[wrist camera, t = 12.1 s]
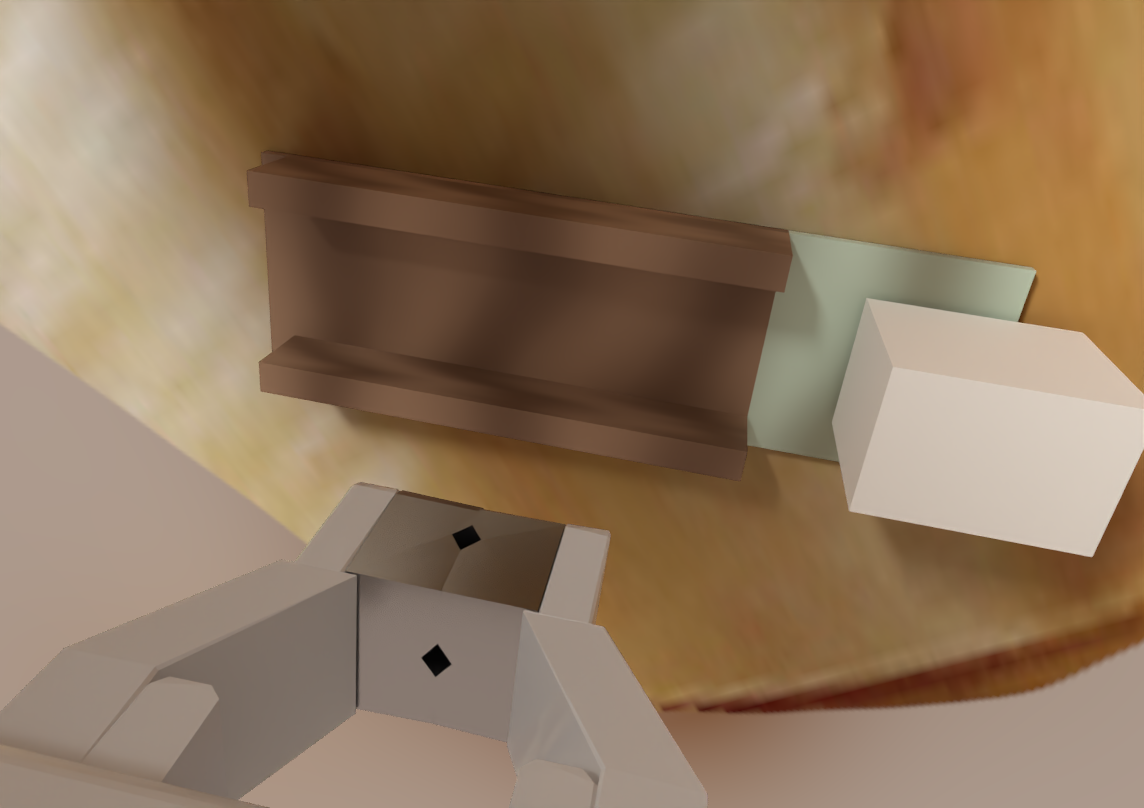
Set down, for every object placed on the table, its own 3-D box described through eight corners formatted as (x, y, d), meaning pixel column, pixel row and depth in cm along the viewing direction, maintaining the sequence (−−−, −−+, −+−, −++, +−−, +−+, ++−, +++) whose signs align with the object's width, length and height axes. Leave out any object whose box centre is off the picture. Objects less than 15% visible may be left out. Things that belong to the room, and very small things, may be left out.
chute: (277, 354, 35) (236, 386, 32) (266, 150, 31) (218, 166, 28) (955, 478, 32) (976, 525, 29) (1032, 267, 28) (1064, 298, 25)
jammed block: (831, 422, 31) (848, 511, 26) (866, 297, 29) (892, 367, 24) (1032, 457, 30) (1092, 557, 25) (1082, 332, 28) (1160, 412, 23)
